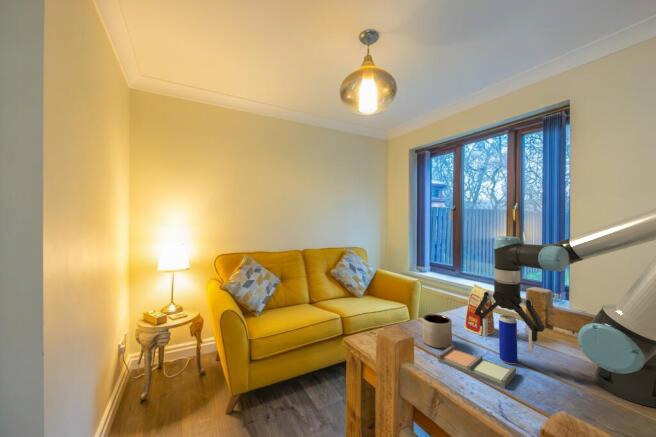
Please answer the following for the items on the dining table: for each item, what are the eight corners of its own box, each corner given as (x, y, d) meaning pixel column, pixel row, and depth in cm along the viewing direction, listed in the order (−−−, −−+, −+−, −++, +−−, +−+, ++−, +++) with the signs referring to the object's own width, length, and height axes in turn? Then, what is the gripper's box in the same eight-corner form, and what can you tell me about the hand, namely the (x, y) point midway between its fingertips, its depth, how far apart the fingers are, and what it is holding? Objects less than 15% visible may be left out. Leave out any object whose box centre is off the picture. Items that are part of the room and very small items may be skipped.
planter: (446, 337, 111) (446, 314, 111) (456, 350, 100) (456, 324, 100) (419, 336, 112) (419, 313, 112) (426, 349, 101) (426, 323, 101)
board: (516, 373, 84) (515, 366, 84) (504, 388, 77) (504, 380, 77) (452, 350, 99) (452, 344, 99) (437, 361, 92) (437, 354, 92)
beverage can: (520, 365, 88) (519, 320, 89) (503, 364, 89) (502, 319, 90) (513, 358, 93) (512, 315, 94) (496, 356, 95) (496, 314, 95)
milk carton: (464, 328, 119) (463, 284, 119) (477, 325, 123) (477, 281, 123) (483, 336, 111) (482, 288, 111) (497, 332, 114) (496, 286, 115)
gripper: (556, 286, 85) (556, 353, 85) (472, 273, 104) (473, 328, 104) (551, 290, 80) (551, 361, 80) (464, 276, 99) (464, 333, 99)
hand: (506, 342), depth 92 cm, fingers open, 13 cm apart
